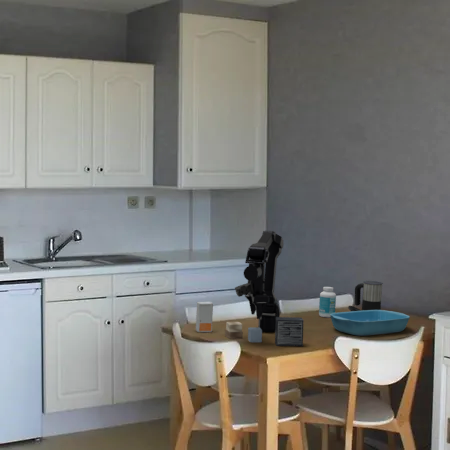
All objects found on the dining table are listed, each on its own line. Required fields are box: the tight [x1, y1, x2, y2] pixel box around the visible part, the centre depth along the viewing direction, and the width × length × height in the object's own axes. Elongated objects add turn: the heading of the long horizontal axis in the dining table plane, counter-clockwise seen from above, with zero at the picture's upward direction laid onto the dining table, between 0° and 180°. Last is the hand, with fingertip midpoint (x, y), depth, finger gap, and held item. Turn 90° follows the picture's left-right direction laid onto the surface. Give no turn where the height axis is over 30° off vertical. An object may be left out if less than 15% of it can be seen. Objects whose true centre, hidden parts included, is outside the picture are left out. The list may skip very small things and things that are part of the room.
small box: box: [274, 316, 305, 347], centre depth 347 cm, size 11×6×10 cm, turn 92°
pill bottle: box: [318, 286, 337, 319], centre depth 409 cm, size 8×7×14 cm
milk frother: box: [348, 280, 384, 312], centre depth 420 cm, size 14×16×15 cm
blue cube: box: [247, 327, 263, 343], centre depth 352 cm, size 4×4×5 cm
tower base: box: [224, 329, 244, 340], centre depth 357 cm, size 6×6×3 cm
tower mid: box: [225, 321, 243, 332], centre depth 357 cm, size 5×5×3 cm
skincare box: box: [195, 301, 214, 333], centre depth 367 cm, size 6×4×12 cm
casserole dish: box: [330, 309, 410, 337], centre depth 381 cm, size 37×22×7 cm, turn 124°
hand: (255, 316), depth 351 cm, fingers open, 9 cm apart
